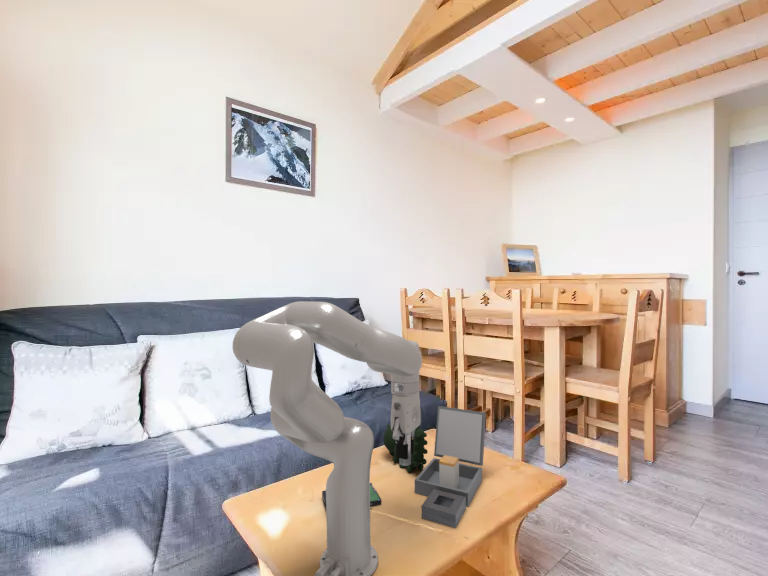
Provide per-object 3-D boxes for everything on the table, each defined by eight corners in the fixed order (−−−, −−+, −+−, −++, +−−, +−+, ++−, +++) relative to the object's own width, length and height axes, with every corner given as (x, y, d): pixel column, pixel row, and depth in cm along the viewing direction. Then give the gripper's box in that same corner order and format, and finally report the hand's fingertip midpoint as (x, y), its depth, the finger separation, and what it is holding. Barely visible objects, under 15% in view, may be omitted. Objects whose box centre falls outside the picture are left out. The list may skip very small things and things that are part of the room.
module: (454, 491, 112) (454, 464, 111) (439, 488, 114) (439, 461, 114) (459, 484, 116) (458, 457, 115) (444, 481, 118) (444, 454, 118)
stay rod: (407, 466, 102) (408, 428, 102) (397, 464, 103) (397, 426, 103) (412, 462, 105) (412, 425, 105) (402, 460, 106) (402, 423, 106)
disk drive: (328, 521, 101) (382, 509, 106) (328, 510, 101) (382, 498, 106) (321, 500, 111) (371, 489, 116) (321, 490, 111) (371, 480, 116)
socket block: (455, 531, 95) (455, 515, 95) (421, 521, 99) (421, 505, 99) (465, 511, 103) (465, 496, 103) (433, 503, 107) (433, 488, 107)
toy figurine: (433, 480, 123) (398, 443, 146) (435, 423, 121) (399, 395, 144) (407, 487, 119) (375, 448, 142) (409, 428, 117) (376, 398, 140)
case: (468, 509, 104) (468, 493, 104) (414, 495, 111) (414, 480, 111) (482, 482, 118) (482, 468, 118) (433, 471, 125) (433, 457, 125)
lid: (484, 412, 121) (485, 412, 122) (437, 405, 129) (438, 405, 130) (481, 466, 118) (483, 465, 119) (433, 456, 125) (434, 455, 126)
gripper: (405, 396, 95) (405, 471, 95) (429, 382, 110) (429, 447, 109) (378, 392, 99) (378, 464, 98) (405, 379, 113) (405, 442, 113)
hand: (405, 455), depth 104 cm, fingers closed on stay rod, 3 cm apart
